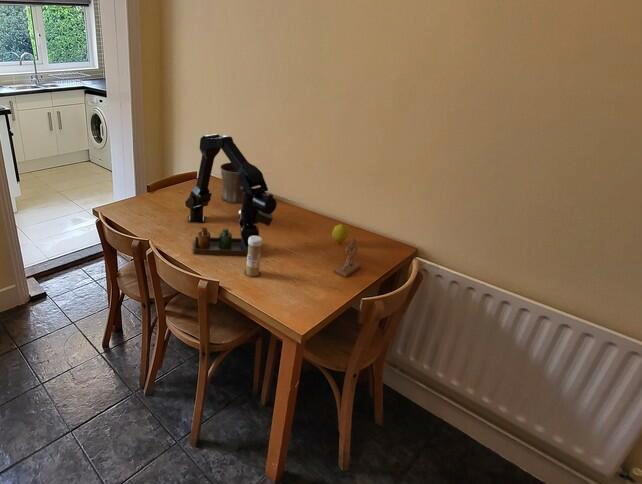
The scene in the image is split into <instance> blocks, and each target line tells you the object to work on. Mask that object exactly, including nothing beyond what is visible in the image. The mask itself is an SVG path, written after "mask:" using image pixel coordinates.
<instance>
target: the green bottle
mask: <svg viewBox="0 0 642 484" xmlns="http://www.w3.org/2000/svg"><path fill="white" fill-rule="evenodd" d="M222 230H223V231H222V232H220V233H219V237H218V238H219V248H220V249H223V250H229V249H231V243H232V238H233V233H232V232H229V228H223V229H222Z"/></svg>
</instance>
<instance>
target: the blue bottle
mask: <svg viewBox="0 0 642 484" xmlns="http://www.w3.org/2000/svg"><path fill="white" fill-rule="evenodd" d="M240 238H241V249H243V250H248V246H245V243H244V240H243V238H242V236H241V235H240Z"/></svg>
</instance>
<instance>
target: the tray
mask: <svg viewBox="0 0 642 484" xmlns="http://www.w3.org/2000/svg"><path fill="white" fill-rule="evenodd" d="M193 254H194V255H213V256H215V255H216V256H238V257H242V256H243V257H247V256H248V250H243V249H241V237H240V238H239V237H232V243H231V249H229V250H223V249H220V248H219V237H215V236H214V237H212V236H210V248H209V249H200V248H199V247H198V236H195V237H194V246H193Z"/></svg>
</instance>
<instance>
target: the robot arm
mask: <svg viewBox="0 0 642 484" xmlns="http://www.w3.org/2000/svg"><path fill="white" fill-rule="evenodd" d="M221 150H222V152H223V153H224V155H225V156H226V157H227V159H228V161H229V163H232V164H233V166H234V167H235V169H236V170H237V172H238V179H239V181H240V183H241V185H242V186H241V187H240V188H239V190H240V191H242V192H243V193H242V202H241V204H240V210H238V219H239V220H238V223H239V226H240V229H239V231H240V232H239V233H240V237H241V236H242V238H243V240H244V243H245V246H249V244H248V239H249V237H250V236H259V237H260V229H259V226H257V224H259V223H260V224H262V225H264V226H266V227H270V225H271V224H272V222H273V220H274V217H273V214H272V213H274V212H275V210H276V209H277V207H278V206H277V205H278V203H277V200H276V199H275V198H274V194H273V193H268V191H269V188H268V184H267V183H266V181H265V177H264V174H263V172H262V171H261V170H260V169H259V168H258V167H257V166H256V165H255V164H251V163H250V162H249V161H248V160H247V158H246V157H245V155H244V154H243V153H242V152H241V150H240V148H239V147H238V146H237V144H236V143H235V142H234V138H233V137H232V136H231V135H220V134H218V133H213V134H207V135H203V136H201V137H200V140H199V151H200V153H201V160H200V164H199V169H198V175H197V179H196V185H195V186H194V187H193V188H192V189H191V191H190V193H189V197H188V198H187V199H186V200H185V201H184V204H185V207H186V208H187V209H189V216H188V222H190V223H204V222H205V215H204V207H207V206H209V203H210V201H211V200H212V199H211V197H212V192H211V191H210V189H209V184H210V180H211V175H212V170H213V166H214V162H215V158H216V157H217V155H218V154H219V153H220V152H221Z"/></svg>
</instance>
